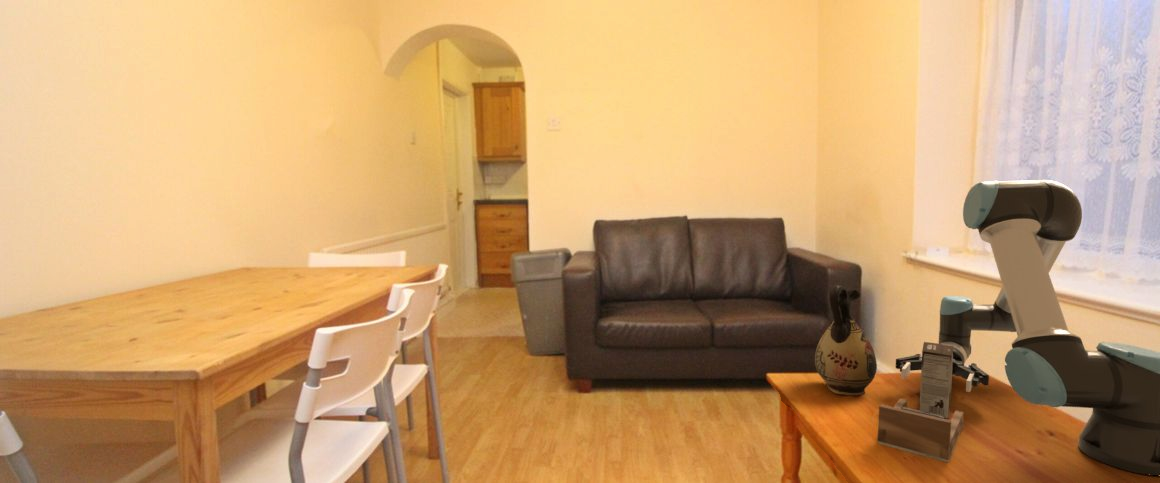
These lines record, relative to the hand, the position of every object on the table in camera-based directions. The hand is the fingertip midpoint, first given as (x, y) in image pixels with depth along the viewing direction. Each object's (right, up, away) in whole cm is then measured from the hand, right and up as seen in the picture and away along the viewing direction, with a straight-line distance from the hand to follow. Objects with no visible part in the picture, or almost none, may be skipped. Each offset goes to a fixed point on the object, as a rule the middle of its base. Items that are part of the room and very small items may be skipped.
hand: (934, 379), depth 132 cm
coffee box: (+2, -8, +3) cm, 9 cm away
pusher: (-11, -9, -12) cm, 19 cm away
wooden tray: (-10, -10, -11) cm, 17 cm away
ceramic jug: (-15, -7, +16) cm, 23 cm away
